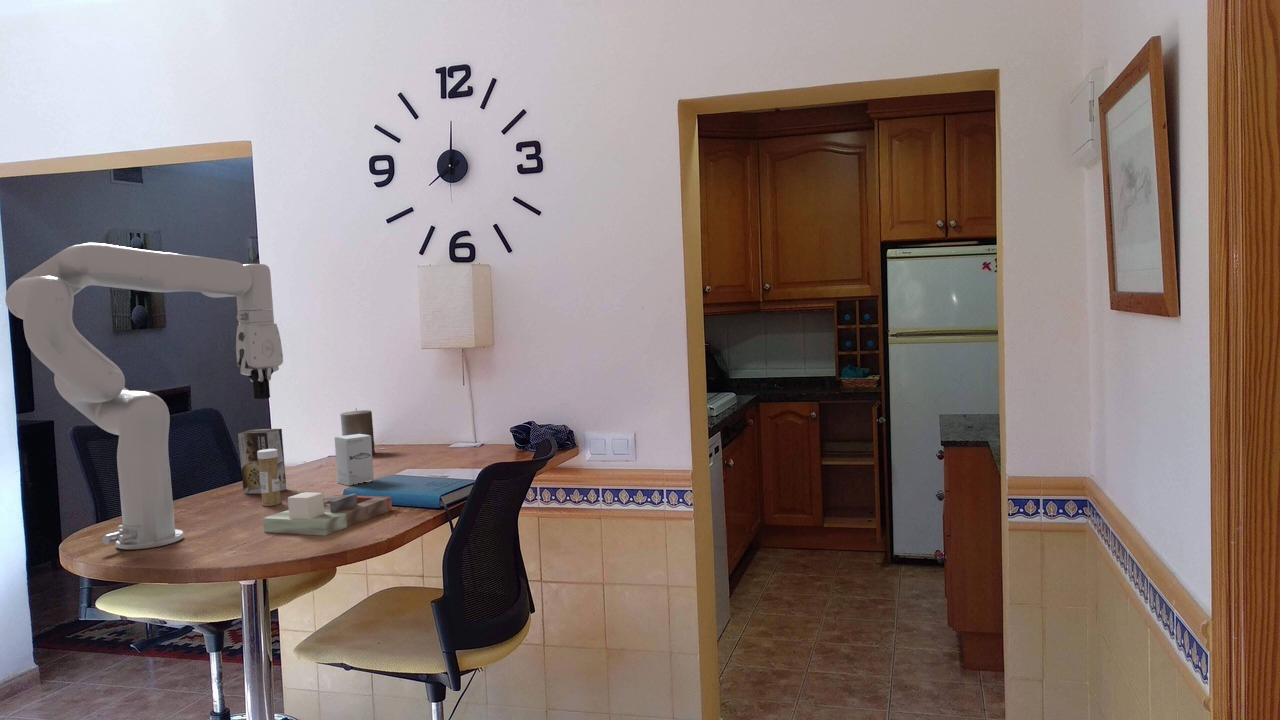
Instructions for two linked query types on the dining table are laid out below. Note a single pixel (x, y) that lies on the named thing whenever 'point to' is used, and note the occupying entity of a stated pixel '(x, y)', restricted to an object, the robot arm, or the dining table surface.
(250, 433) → the coffee box
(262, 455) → the sprinkles bottle
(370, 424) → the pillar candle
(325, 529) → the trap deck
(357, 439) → the supplement box
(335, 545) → the dining table surface
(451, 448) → the dining table surface
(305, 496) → the cream block
